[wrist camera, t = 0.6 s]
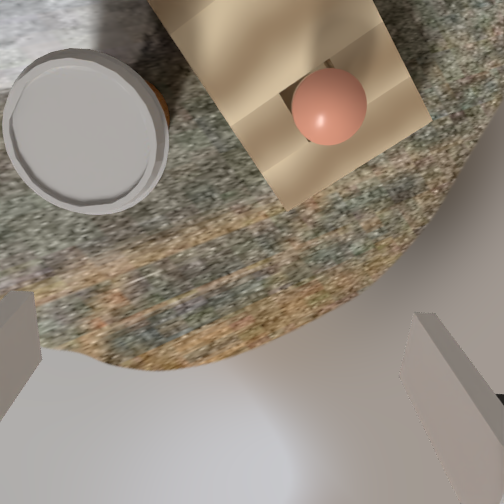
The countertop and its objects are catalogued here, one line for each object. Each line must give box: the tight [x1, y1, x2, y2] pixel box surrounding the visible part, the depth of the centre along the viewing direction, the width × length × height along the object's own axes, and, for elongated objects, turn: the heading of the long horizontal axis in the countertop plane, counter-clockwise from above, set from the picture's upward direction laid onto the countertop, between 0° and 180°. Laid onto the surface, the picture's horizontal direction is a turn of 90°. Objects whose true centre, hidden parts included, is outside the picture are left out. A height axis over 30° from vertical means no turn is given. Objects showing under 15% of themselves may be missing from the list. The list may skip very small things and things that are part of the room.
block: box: [147, 0, 433, 212], centre depth 33 cm, size 22×12×5 cm, turn 34°
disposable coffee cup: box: [2, 48, 170, 215], centre depth 32 cm, size 10×10×12 cm
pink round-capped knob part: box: [291, 68, 367, 145], centre depth 30 cm, size 4×4×5 cm
